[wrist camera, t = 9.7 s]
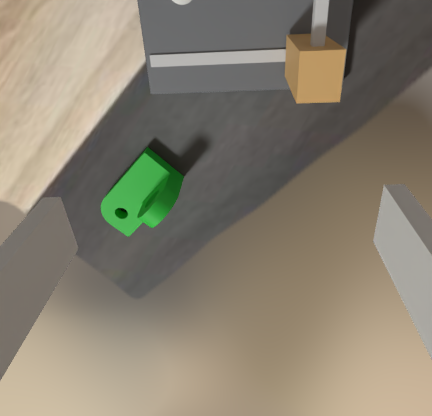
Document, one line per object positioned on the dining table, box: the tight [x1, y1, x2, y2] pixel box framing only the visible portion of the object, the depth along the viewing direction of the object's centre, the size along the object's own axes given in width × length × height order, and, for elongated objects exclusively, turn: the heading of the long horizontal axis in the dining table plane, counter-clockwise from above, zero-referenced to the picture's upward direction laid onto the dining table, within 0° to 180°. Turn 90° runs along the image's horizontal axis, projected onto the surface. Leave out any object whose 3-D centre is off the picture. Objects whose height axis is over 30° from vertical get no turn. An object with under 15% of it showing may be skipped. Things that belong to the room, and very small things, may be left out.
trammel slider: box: [285, 0, 346, 103], centre depth 32 cm, size 9×4×10 cm, turn 3°
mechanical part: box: [101, 147, 184, 237], centre depth 47 cm, size 12×6×8 cm, turn 138°
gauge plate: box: [137, 0, 353, 94], centre depth 37 cm, size 13×21×4 cm, turn 93°
